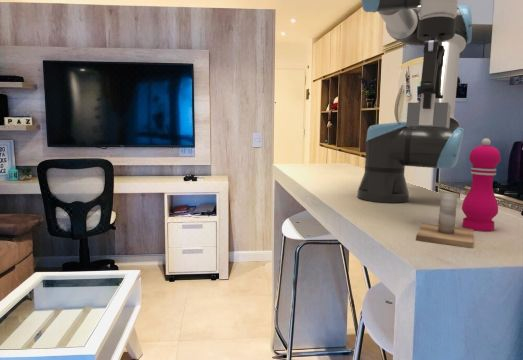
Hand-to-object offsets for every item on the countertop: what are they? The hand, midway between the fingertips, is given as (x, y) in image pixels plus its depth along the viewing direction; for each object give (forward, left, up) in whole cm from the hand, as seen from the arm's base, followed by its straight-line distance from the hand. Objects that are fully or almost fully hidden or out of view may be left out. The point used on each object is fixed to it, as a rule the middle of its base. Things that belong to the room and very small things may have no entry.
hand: (428, 126), depth 93 cm
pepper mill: (-4, +12, -23) cm, 26 cm away
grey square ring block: (0, 0, 0) cm, 0 cm away
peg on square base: (+9, +6, -22) cm, 25 cm away
